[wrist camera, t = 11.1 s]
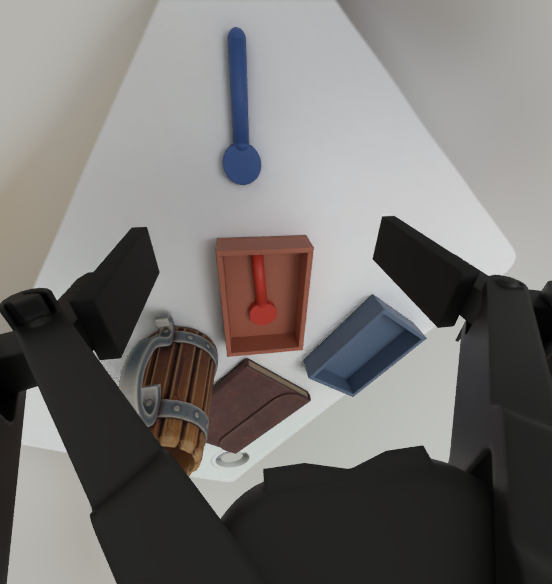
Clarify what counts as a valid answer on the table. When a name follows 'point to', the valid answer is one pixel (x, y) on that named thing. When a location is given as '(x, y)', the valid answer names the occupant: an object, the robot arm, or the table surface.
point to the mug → (173, 388)
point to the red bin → (279, 286)
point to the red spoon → (261, 295)
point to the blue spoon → (240, 116)
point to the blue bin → (363, 347)
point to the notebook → (250, 405)
